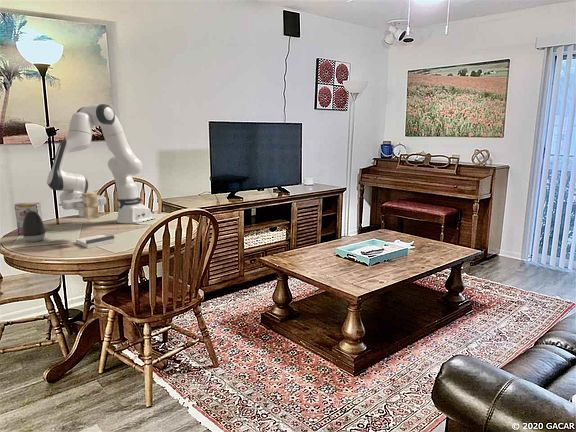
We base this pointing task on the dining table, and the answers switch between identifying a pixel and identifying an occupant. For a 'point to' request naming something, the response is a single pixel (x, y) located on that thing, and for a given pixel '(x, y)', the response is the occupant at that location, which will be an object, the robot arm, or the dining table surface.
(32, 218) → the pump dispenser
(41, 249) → the dining table surface
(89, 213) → the oak block
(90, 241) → the dock
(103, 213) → the dining table surface
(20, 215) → the candy bar box
